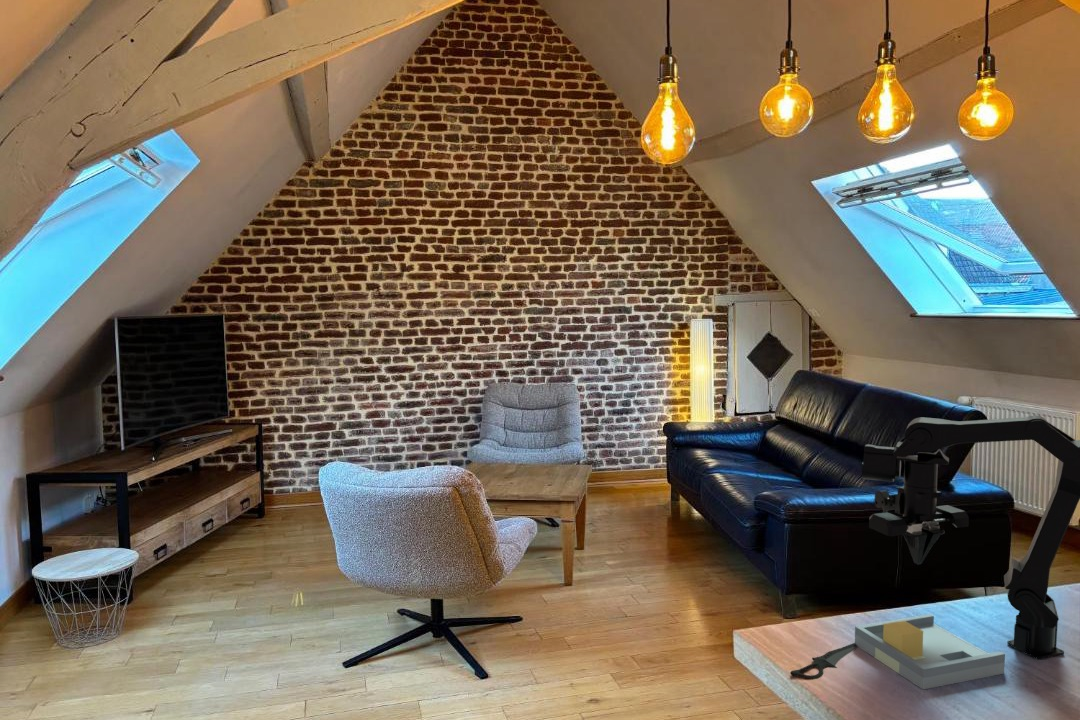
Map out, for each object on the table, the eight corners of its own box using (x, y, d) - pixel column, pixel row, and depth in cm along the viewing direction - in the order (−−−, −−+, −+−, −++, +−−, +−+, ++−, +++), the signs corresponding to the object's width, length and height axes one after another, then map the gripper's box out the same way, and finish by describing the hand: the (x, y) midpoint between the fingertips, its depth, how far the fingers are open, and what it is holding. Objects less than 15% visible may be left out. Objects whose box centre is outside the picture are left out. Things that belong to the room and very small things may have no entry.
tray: (929, 631, 151) (929, 613, 150) (1004, 673, 134) (1005, 653, 134) (854, 644, 146) (855, 626, 146) (923, 689, 130) (923, 669, 129)
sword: (806, 686, 132) (807, 680, 132) (785, 674, 136) (786, 669, 135) (891, 642, 148) (891, 637, 148) (870, 632, 151) (870, 628, 151)
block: (903, 644, 141) (904, 620, 141) (922, 655, 137) (923, 631, 137) (882, 648, 140) (883, 624, 140) (901, 659, 136) (901, 634, 135)
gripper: (928, 470, 160) (925, 544, 161) (850, 478, 154) (848, 555, 156) (972, 484, 149) (969, 563, 151) (890, 493, 144) (888, 575, 145)
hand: (917, 563), depth 151 cm, fingers closed
